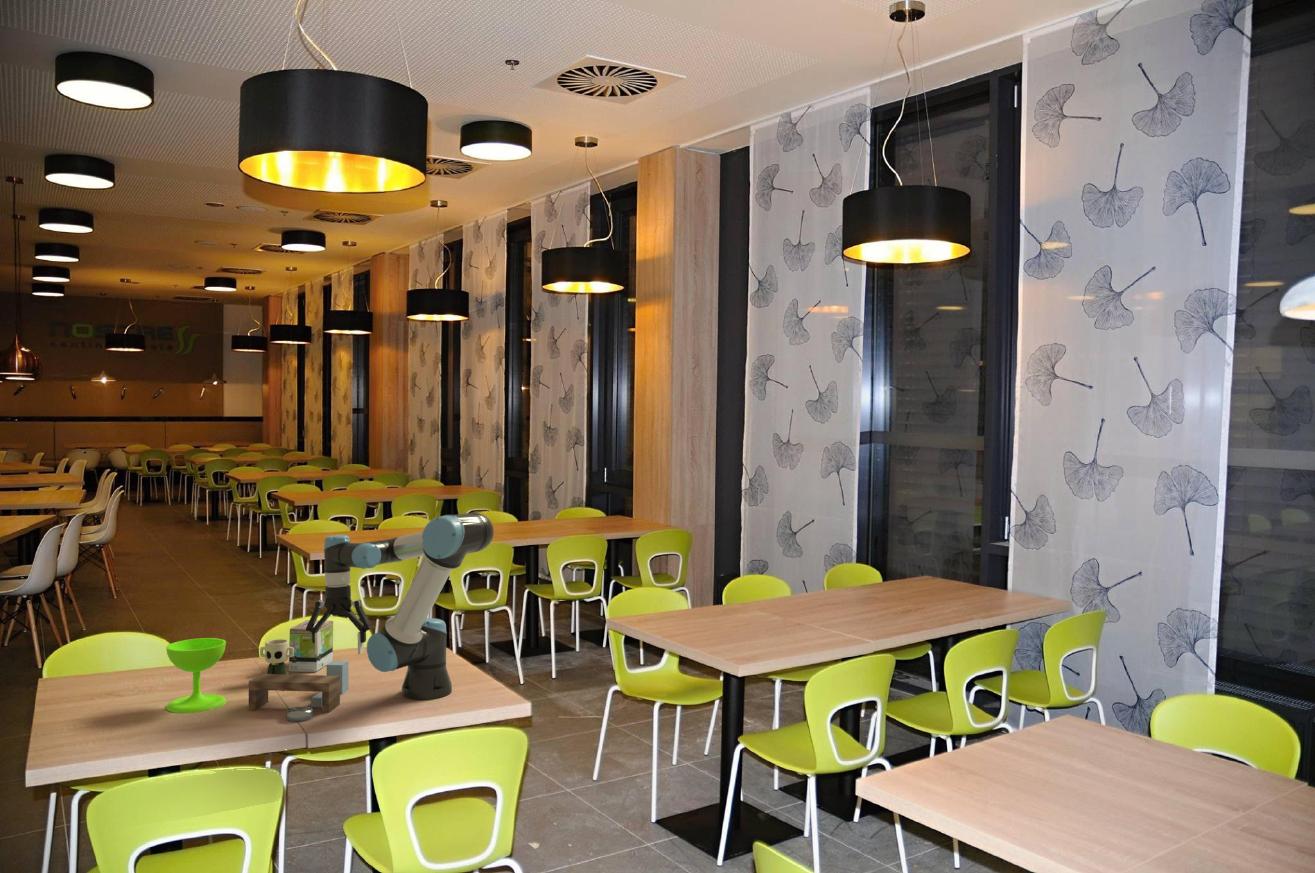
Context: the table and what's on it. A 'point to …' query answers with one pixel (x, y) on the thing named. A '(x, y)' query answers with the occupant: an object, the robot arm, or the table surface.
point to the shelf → (295, 688)
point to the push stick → (334, 670)
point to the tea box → (310, 648)
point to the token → (299, 714)
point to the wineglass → (196, 671)
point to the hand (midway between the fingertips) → (339, 653)
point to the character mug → (277, 655)
